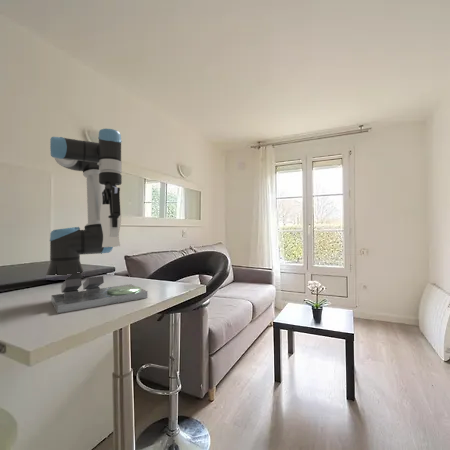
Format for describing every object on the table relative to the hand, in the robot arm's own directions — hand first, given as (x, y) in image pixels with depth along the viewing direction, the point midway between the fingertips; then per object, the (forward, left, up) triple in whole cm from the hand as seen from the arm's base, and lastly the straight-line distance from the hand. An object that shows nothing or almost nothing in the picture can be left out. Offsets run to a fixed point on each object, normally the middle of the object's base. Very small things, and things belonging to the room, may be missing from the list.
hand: (111, 236), depth 96 cm
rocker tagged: (+9, -14, -14) cm, 22 cm away
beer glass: (0, 0, -4) cm, 4 cm away
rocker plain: (+9, -8, -14) cm, 19 cm away
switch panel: (+12, -6, -19) cm, 23 cm away
